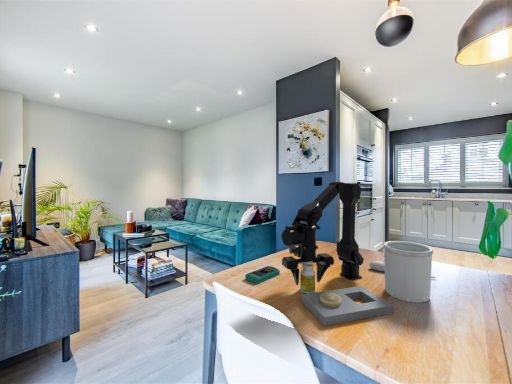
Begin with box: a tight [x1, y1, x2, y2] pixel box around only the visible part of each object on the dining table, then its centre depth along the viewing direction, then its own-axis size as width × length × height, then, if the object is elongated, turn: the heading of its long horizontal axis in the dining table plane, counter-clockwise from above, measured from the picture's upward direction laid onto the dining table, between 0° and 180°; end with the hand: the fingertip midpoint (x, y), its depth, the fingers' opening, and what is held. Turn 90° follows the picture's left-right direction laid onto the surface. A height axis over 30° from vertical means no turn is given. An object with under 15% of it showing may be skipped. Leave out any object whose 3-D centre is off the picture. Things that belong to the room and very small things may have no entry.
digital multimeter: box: [245, 265, 281, 285], centre depth 102 cm, size 7×15×3 cm, turn 135°
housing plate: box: [301, 285, 394, 327], centre depth 77 cm, size 24×14×4 cm, turn 106°
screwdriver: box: [368, 260, 436, 279], centre depth 105 cm, size 5×25×4 cm, turn 59°
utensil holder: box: [383, 240, 434, 304], centre depth 86 cm, size 15×15×18 cm
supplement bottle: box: [299, 263, 316, 294], centre depth 89 cm, size 5×5×10 cm
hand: (307, 283), depth 89 cm, fingers open, 8 cm apart
